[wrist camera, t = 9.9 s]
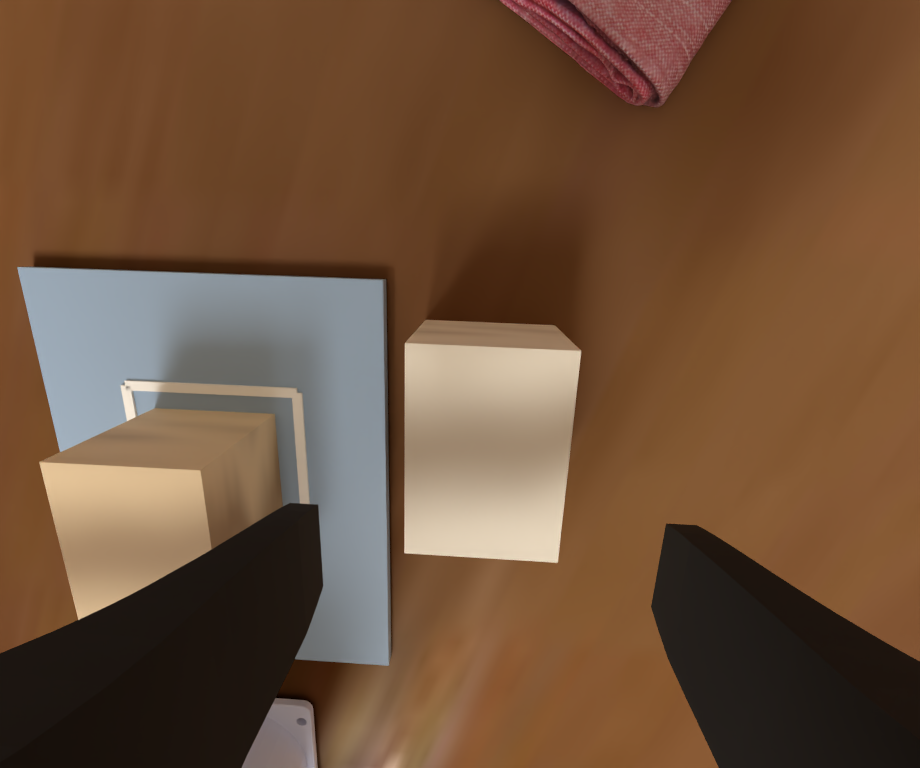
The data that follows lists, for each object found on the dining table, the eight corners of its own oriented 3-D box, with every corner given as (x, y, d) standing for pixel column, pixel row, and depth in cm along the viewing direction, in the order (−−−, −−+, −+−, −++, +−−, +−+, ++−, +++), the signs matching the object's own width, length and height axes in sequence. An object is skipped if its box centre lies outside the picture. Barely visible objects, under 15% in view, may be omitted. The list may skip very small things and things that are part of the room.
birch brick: (539, 486, 19) (557, 562, 15) (423, 480, 20) (404, 553, 15) (554, 324, 18) (581, 350, 13) (426, 319, 18) (405, 343, 13)
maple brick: (287, 561, 20) (226, 656, 15) (178, 554, 20) (85, 646, 16) (274, 413, 18) (200, 470, 13) (154, 408, 18) (39, 462, 14)
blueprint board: (391, 655, 22) (388, 667, 21) (114, 636, 23) (103, 647, 22) (386, 279, 17) (382, 280, 17) (32, 266, 18) (14, 267, 17)
